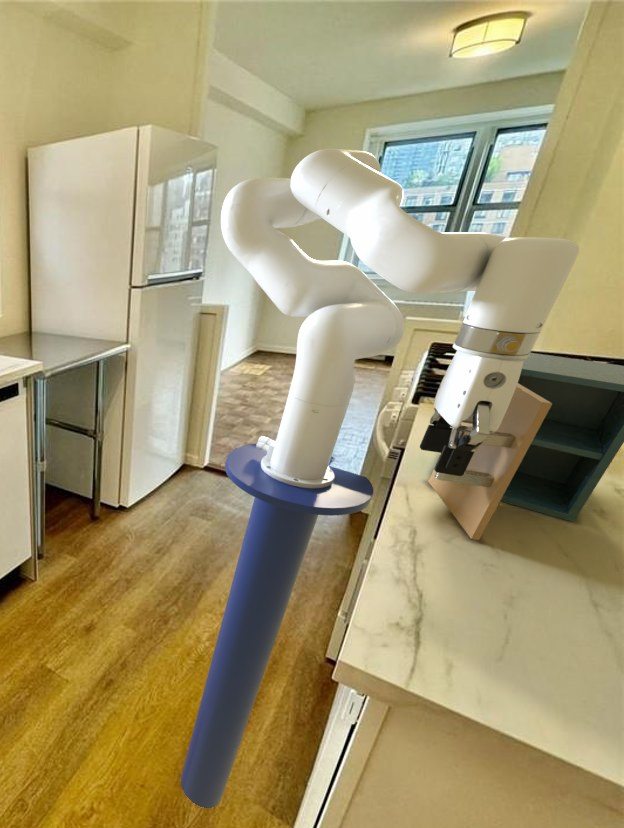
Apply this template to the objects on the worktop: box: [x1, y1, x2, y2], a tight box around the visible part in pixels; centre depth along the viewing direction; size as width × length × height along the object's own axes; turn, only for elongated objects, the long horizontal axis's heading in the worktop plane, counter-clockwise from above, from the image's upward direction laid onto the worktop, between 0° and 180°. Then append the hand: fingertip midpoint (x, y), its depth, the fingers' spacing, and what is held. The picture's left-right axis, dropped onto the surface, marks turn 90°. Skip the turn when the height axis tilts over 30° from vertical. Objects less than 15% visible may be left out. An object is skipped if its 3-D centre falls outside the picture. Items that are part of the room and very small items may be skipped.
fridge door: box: [428, 383, 552, 541], centre depth 75 cm, size 7×18×22 cm, turn 160°
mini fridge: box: [500, 352, 624, 523], centre depth 81 cm, size 14×18×22 cm
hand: (439, 460), depth 71 cm, fingers open, 7 cm apart
